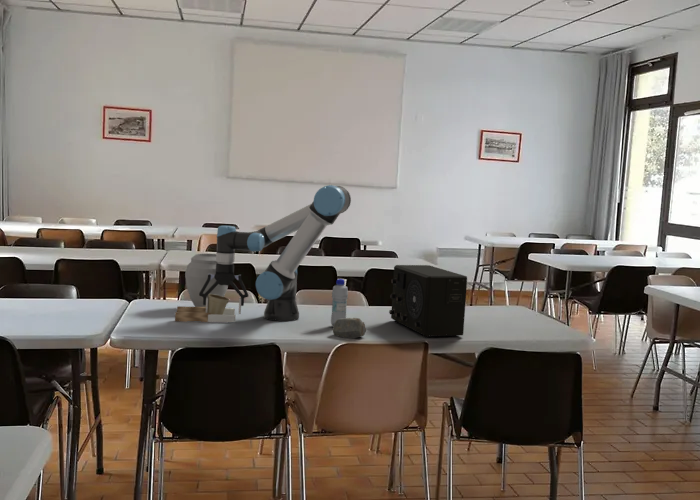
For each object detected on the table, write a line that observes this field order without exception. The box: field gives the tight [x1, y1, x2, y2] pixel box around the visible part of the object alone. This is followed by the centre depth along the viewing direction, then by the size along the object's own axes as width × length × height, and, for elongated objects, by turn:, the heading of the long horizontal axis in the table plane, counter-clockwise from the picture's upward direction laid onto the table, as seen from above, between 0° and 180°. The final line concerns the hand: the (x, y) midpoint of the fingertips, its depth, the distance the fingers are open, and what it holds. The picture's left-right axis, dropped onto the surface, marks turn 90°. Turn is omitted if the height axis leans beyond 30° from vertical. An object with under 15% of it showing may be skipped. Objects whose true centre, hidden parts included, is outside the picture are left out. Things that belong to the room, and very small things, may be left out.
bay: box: [207, 307, 236, 323], centre depth 294 cm, size 11×15×3 cm
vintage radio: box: [388, 264, 468, 339], centre depth 295 cm, size 38×20×25 cm, turn 20°
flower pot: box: [207, 294, 231, 315], centre depth 293 cm, size 9×9×9 cm
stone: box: [332, 317, 367, 339], centre depth 273 cm, size 12×8×8 cm, turn 71°
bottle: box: [330, 278, 349, 328], centre depth 289 cm, size 7×7×20 cm
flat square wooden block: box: [174, 305, 211, 323], centre depth 291 cm, size 14×14×4 cm
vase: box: [184, 253, 229, 307], centre depth 311 cm, size 20×20×24 cm
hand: (223, 313), depth 294 cm, fingers open, 13 cm apart
